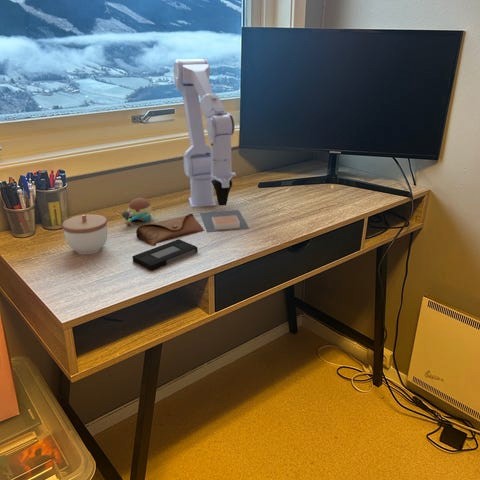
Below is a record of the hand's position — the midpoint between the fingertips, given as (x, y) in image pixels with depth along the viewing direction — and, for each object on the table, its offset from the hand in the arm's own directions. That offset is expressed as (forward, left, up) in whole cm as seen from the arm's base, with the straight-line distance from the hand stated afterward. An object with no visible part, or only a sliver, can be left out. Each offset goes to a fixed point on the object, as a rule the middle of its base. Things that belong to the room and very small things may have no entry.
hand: (222, 204), depth 139 cm
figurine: (-5, -25, -5) cm, 26 cm away
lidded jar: (+13, -37, -5) cm, 40 cm away
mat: (+1, 0, -5) cm, 5 cm away
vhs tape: (+22, -18, -6) cm, 29 cm away
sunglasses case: (+8, -15, -6) cm, 18 cm away
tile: (+2, 0, -4) cm, 4 cm away
